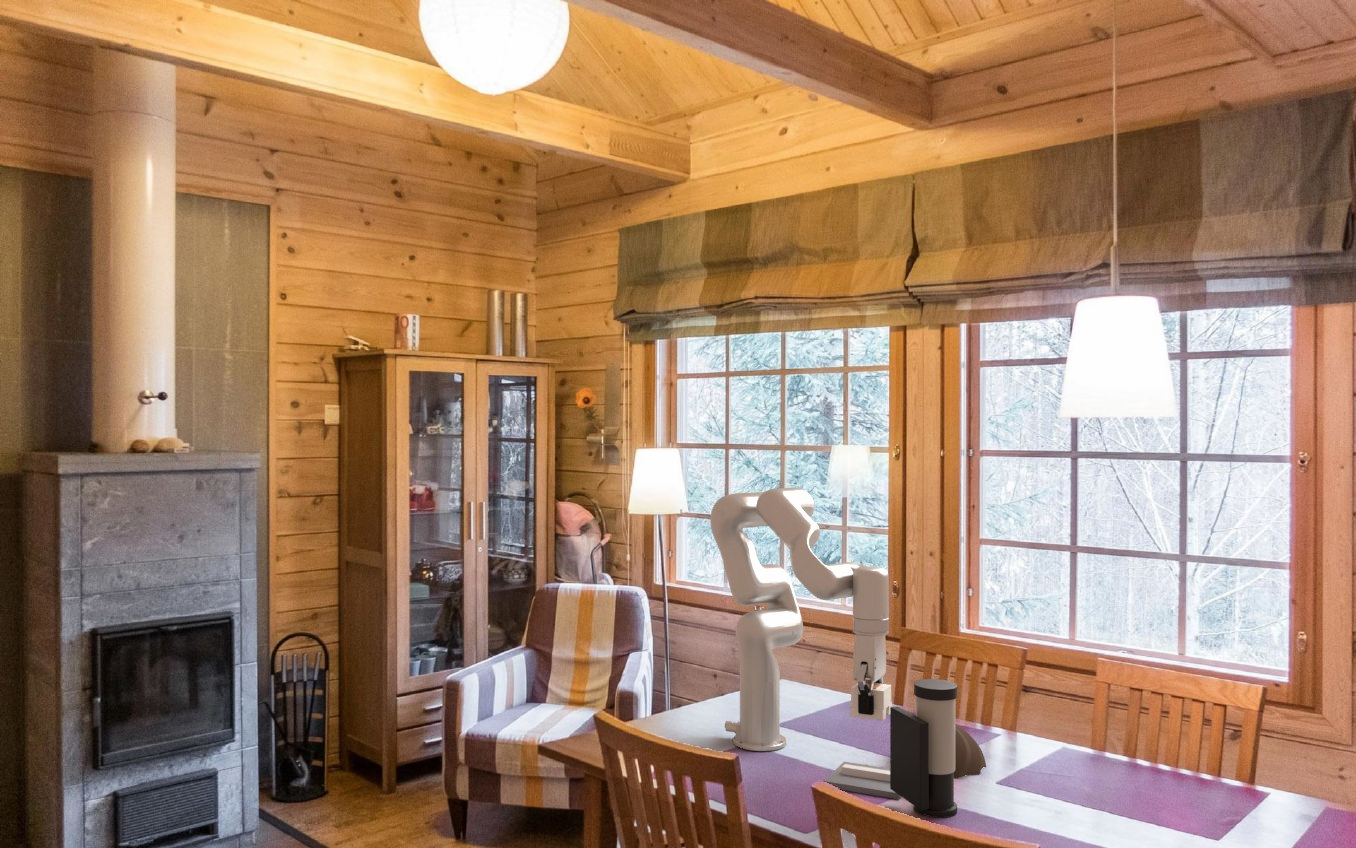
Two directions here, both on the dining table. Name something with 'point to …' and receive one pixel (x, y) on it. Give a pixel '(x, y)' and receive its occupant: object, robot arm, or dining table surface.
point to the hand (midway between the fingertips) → (871, 708)
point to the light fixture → (925, 749)
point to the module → (880, 702)
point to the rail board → (863, 779)
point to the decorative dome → (967, 754)
